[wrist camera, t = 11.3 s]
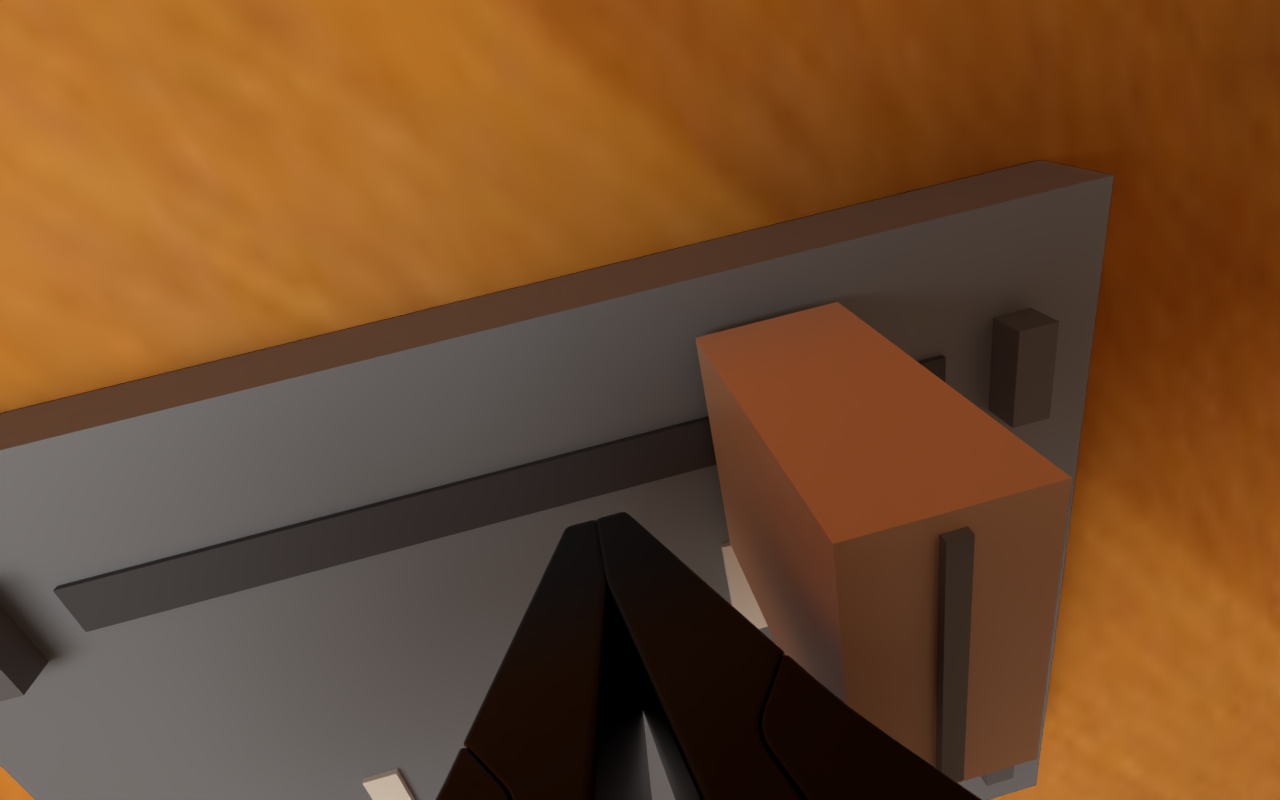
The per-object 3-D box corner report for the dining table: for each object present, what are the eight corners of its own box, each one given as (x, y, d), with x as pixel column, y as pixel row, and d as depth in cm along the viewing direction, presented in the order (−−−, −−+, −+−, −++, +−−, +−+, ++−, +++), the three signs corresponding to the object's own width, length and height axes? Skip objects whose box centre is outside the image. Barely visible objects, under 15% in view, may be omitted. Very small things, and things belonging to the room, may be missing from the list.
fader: (850, 511, 11) (1044, 767, 7) (730, 544, 11) (858, 823, 7) (837, 302, 9) (1081, 485, 5) (695, 337, 9) (837, 551, 5)
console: (995, 729, 18) (1054, 809, 16) (280, 944, 16) (252, 1058, 14) (1040, 159, 11) (1150, 182, 9) (-153, 450, 10) (-306, 545, 8)
